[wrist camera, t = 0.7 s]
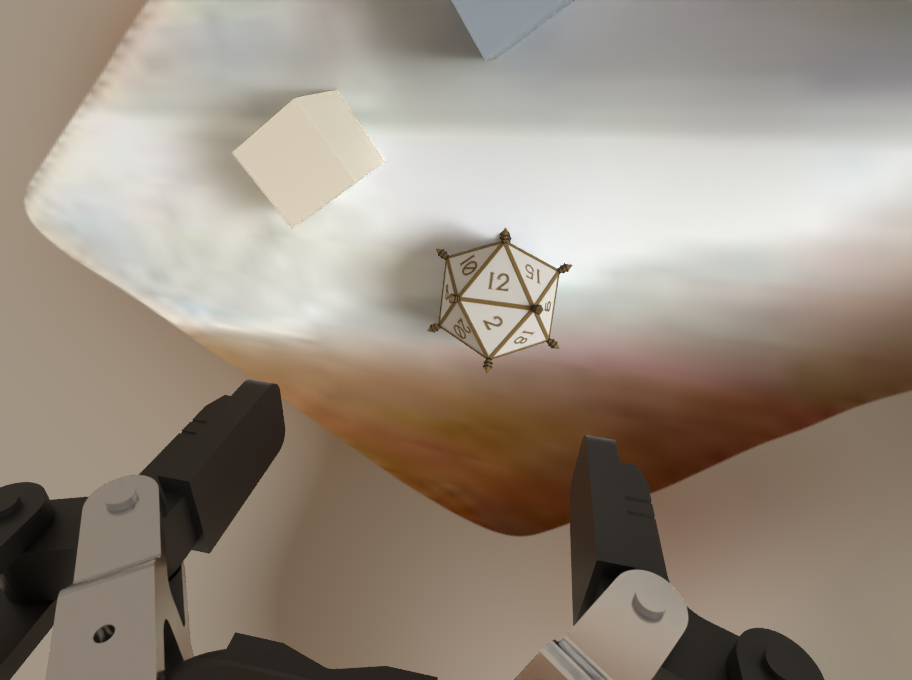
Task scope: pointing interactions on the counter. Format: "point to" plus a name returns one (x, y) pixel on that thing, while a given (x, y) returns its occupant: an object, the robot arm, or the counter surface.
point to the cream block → (308, 155)
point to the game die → (498, 299)
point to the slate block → (504, 21)
